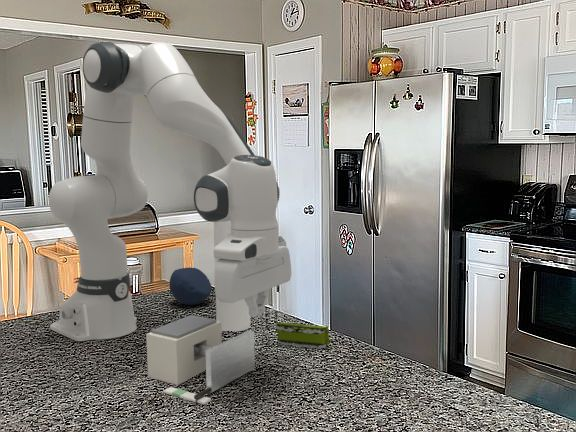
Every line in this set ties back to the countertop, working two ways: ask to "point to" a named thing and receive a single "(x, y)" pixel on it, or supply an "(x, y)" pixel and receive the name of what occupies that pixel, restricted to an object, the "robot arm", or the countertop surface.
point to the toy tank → (302, 335)
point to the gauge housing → (181, 352)
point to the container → (226, 313)
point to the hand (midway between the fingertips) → (257, 314)
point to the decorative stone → (190, 286)
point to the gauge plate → (226, 360)
